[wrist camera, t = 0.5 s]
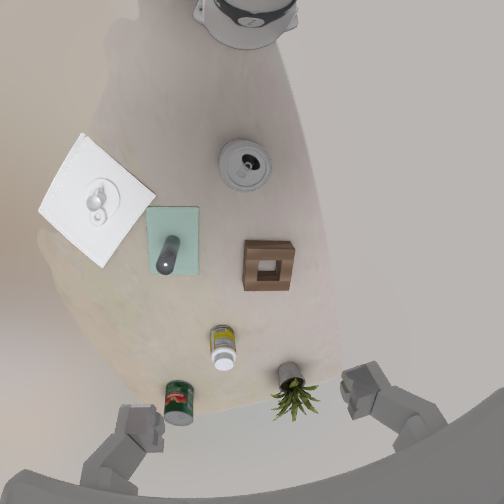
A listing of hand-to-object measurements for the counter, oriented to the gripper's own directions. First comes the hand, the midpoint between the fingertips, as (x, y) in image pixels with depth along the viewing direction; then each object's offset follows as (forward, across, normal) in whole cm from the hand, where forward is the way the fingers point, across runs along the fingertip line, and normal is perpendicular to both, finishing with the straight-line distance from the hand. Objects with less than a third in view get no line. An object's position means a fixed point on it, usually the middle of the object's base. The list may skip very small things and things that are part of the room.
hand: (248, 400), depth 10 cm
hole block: (+43, -6, +16) cm, 47 cm away
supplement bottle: (+44, +6, +33) cm, 55 cm away
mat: (+43, +11, +8) cm, 46 cm away
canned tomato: (+44, +23, +52) cm, 72 cm away
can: (+43, -4, -5) cm, 44 cm away
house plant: (+44, -8, +49) cm, 67 cm away
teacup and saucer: (+43, +26, -3) cm, 51 cm away
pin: (+43, +11, +8) cm, 45 cm away
